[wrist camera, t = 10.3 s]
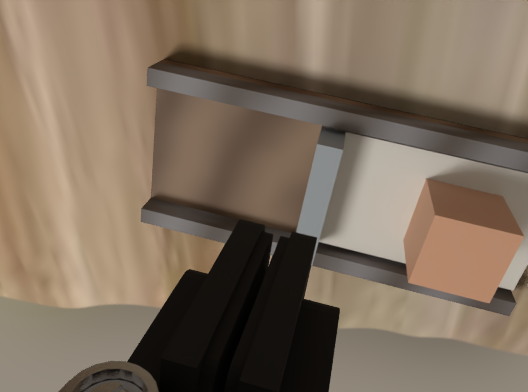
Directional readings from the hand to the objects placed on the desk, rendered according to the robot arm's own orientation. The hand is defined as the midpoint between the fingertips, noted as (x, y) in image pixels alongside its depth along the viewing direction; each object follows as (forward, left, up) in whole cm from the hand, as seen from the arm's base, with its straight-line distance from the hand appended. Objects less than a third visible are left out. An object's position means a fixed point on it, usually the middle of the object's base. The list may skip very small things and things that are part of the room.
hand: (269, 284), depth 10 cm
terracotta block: (-10, +8, -22) cm, 25 cm away
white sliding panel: (-8, +8, -23) cm, 25 cm away
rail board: (-2, +8, -24) cm, 25 cm away
